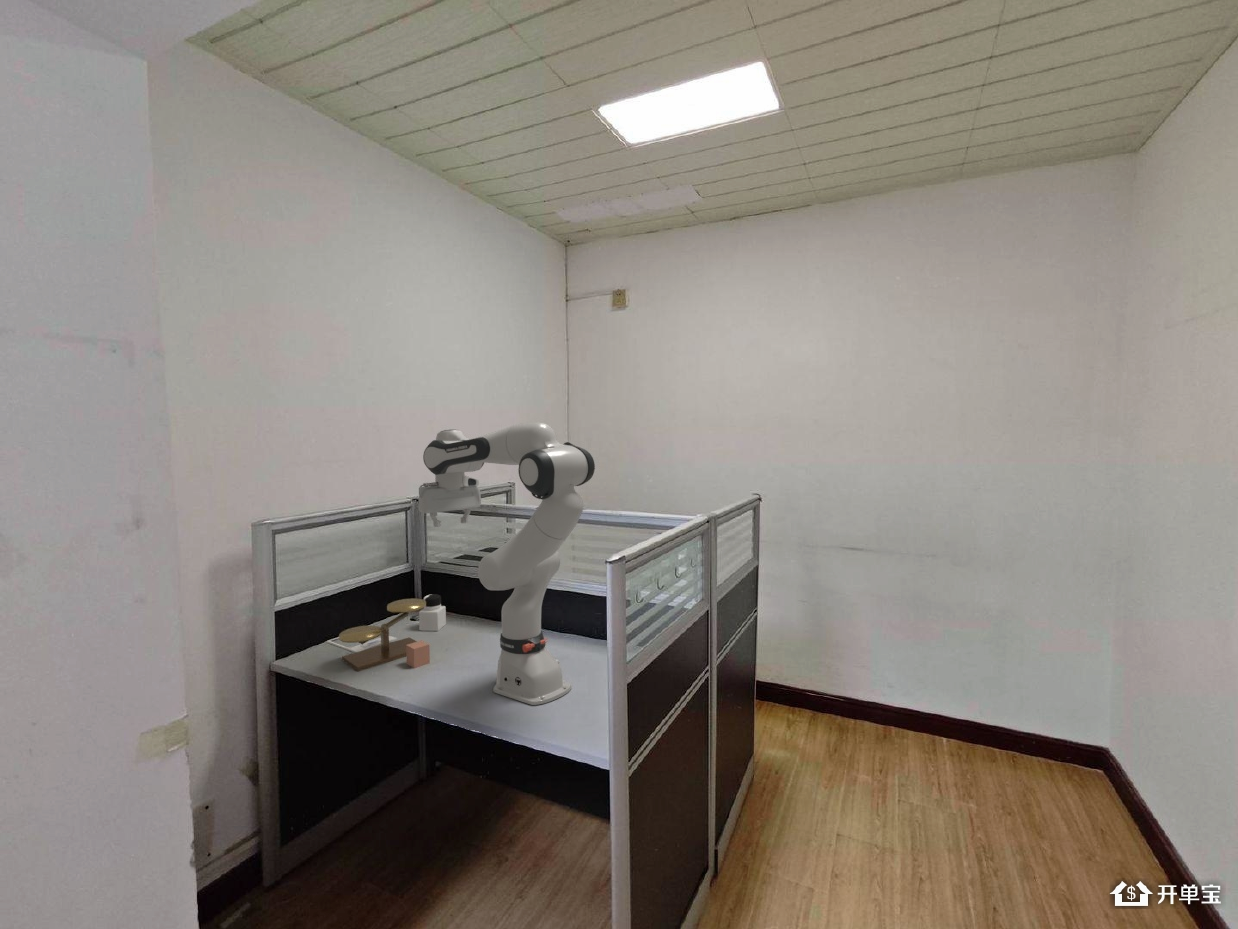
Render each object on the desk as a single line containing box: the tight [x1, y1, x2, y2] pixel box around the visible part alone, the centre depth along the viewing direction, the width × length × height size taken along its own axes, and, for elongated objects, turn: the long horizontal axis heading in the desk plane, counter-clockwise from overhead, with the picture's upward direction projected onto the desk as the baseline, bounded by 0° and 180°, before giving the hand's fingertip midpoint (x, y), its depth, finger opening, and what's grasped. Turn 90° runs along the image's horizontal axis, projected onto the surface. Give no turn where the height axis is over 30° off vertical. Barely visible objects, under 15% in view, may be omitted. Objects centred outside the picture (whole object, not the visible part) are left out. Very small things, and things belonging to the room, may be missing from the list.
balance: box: [338, 598, 426, 672], centre depth 175 cm, size 12×27×15 cm, turn 137°
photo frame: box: [326, 635, 398, 653], centre depth 187 cm, size 15×1×18 cm
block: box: [406, 640, 431, 669], centre depth 168 cm, size 5×5×6 cm
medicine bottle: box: [418, 593, 447, 632], centre depth 200 cm, size 7×7×12 cm
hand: (450, 524), depth 173 cm, fingers open, 8 cm apart
